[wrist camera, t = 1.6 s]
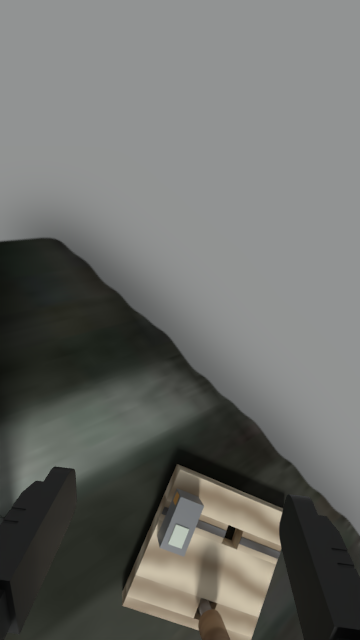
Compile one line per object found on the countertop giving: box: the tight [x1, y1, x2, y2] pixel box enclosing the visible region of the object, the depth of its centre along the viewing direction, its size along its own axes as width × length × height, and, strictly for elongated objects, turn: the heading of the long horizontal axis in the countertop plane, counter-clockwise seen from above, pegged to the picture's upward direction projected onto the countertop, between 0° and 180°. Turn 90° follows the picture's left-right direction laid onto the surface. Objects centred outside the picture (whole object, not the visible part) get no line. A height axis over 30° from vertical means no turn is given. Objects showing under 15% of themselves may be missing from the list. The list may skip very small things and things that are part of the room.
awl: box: [198, 598, 230, 640], centre depth 45 cm, size 4×4×11 cm
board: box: [122, 464, 283, 640], centre depth 50 cm, size 22×24×3 cm
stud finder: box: [157, 488, 204, 557], centre depth 47 cm, size 8×4×3 cm, turn 154°
